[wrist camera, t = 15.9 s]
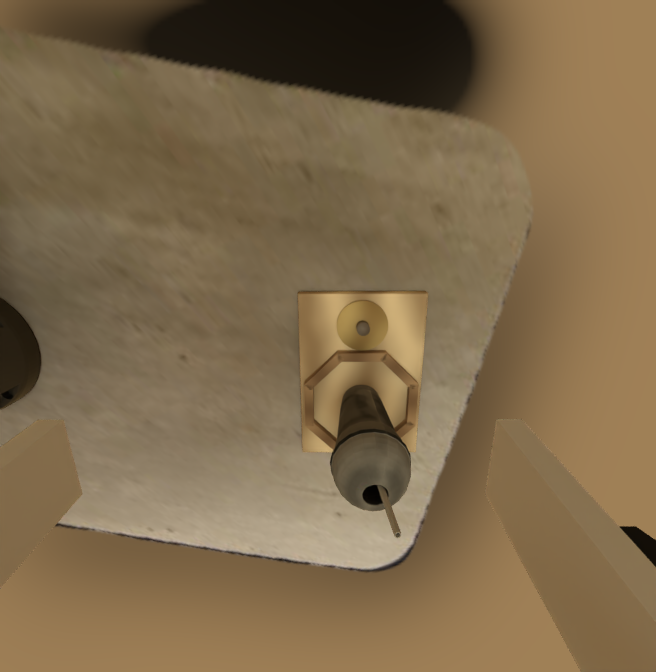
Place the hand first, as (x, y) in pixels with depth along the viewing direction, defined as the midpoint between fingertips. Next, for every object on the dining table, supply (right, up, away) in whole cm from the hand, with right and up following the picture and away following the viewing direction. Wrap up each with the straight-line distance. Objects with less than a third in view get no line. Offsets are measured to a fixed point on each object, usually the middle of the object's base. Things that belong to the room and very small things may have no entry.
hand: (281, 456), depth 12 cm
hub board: (+5, -1, +34) cm, 34 cm away
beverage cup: (+5, -4, +34) cm, 34 cm away
